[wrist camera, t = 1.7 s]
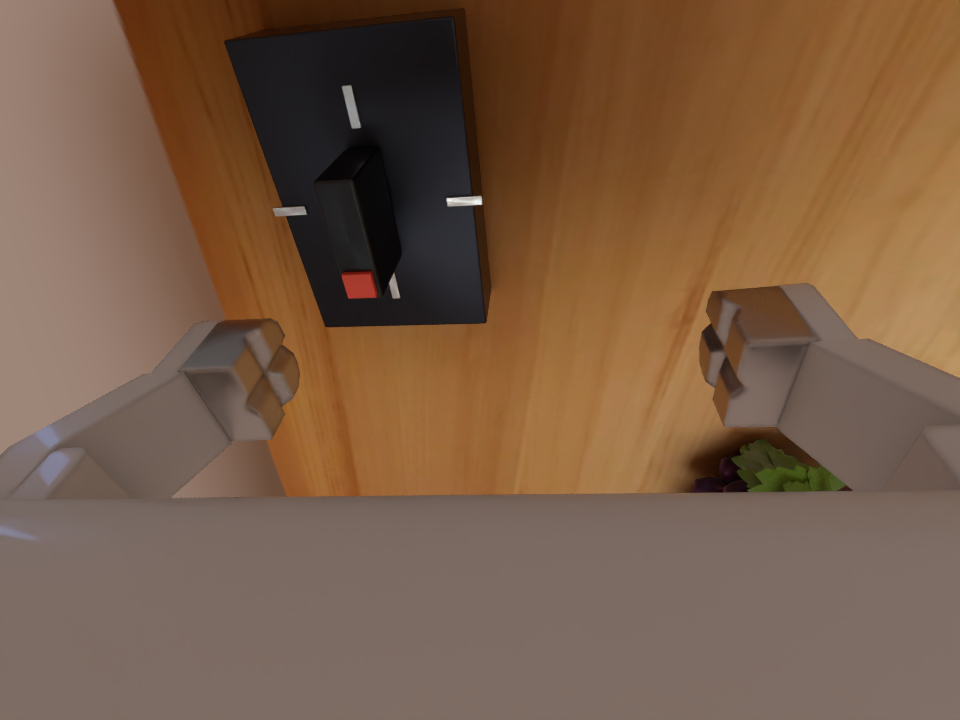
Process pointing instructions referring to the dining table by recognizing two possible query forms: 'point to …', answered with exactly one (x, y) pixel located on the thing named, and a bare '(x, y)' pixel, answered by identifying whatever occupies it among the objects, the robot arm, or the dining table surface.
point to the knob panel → (403, 146)
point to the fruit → (767, 473)
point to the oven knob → (360, 221)
